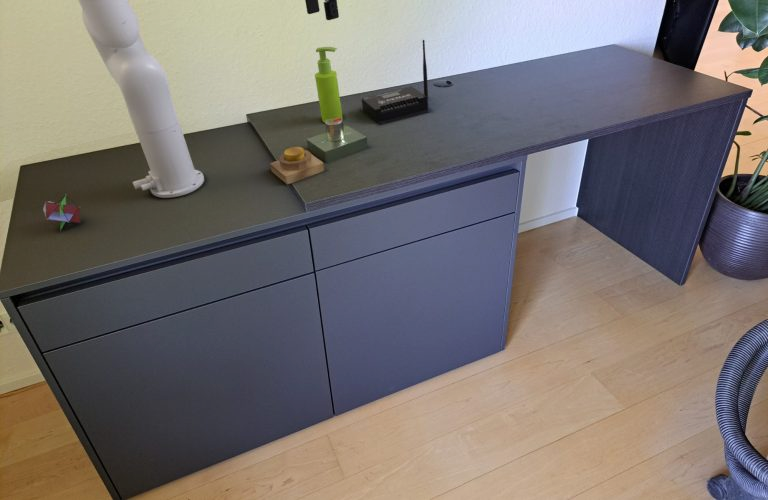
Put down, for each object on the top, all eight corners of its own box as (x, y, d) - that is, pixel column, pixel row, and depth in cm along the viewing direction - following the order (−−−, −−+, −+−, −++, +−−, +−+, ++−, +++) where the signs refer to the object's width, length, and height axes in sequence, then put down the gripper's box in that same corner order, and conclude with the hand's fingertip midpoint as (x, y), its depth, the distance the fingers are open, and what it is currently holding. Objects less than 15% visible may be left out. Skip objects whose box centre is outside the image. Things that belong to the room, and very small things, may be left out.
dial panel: (326, 162, 137) (324, 151, 135) (308, 149, 144) (306, 138, 142) (367, 147, 142) (366, 136, 140) (348, 135, 149) (346, 124, 147)
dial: (332, 143, 139) (330, 125, 136) (324, 137, 142) (321, 119, 139) (348, 137, 141) (345, 119, 138) (339, 132, 144) (336, 114, 141)
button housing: (287, 184, 130) (283, 169, 127) (271, 171, 136) (268, 156, 134) (324, 170, 134) (322, 155, 131) (307, 158, 140) (305, 143, 138)
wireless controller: (379, 125, 153) (373, 62, 143) (360, 109, 164) (353, 50, 154) (443, 108, 158) (441, 47, 149) (421, 94, 169) (418, 36, 159)
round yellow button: (290, 164, 130) (289, 157, 129) (282, 157, 133) (281, 150, 132) (308, 157, 132) (306, 151, 131) (299, 151, 135) (298, 145, 134)
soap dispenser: (343, 123, 156) (332, 50, 145) (319, 123, 158) (307, 51, 146) (348, 114, 161) (338, 44, 149) (325, 115, 162) (314, 45, 151)
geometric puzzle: (93, 205, 125) (59, 183, 121) (85, 220, 120) (49, 198, 116) (75, 225, 127) (41, 204, 123) (66, 241, 122) (30, 220, 118)
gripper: (279, -64, 129) (293, 14, 139) (313, -60, 117) (326, 25, 127) (307, -69, 132) (319, 7, 142) (344, -66, 120) (354, 17, 130)
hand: (322, 15), depth 135 cm, fingers open, 9 cm apart
